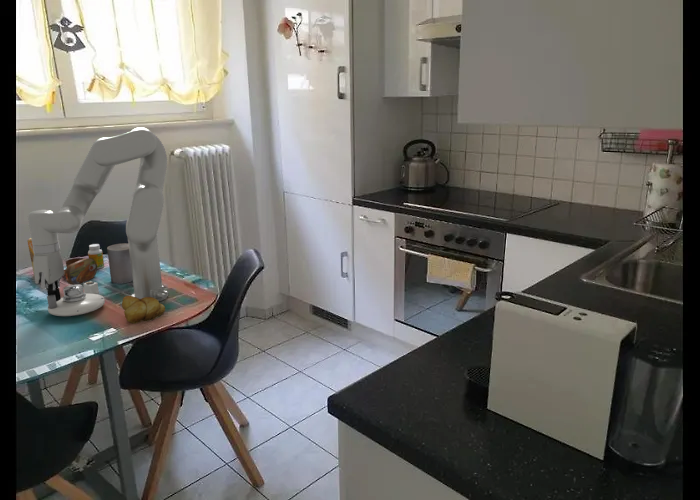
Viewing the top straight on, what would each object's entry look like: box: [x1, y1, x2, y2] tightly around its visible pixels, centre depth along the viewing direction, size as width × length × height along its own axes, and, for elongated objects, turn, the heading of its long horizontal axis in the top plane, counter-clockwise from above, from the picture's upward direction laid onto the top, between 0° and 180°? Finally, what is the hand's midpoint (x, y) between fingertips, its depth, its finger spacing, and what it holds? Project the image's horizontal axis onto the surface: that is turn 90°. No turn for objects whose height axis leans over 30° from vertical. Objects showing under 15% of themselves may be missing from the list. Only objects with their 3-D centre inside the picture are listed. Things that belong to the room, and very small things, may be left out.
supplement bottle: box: [87, 243, 105, 270], centre depth 214 cm, size 5×5×10 cm
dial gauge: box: [82, 280, 100, 295], centre depth 186 cm, size 4×3×4 cm
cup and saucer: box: [62, 257, 85, 278], centre depth 205 cm, size 12×12×6 cm
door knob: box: [62, 284, 86, 303], centre depth 174 cm, size 7×7×4 cm
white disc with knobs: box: [46, 293, 106, 317], centre depth 171 cm, size 17×17×6 cm
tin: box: [64, 257, 98, 285], centre depth 198 cm, size 15×3×8 cm, turn 168°
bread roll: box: [121, 295, 166, 324], centre depth 165 cm, size 13×10×8 cm
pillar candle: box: [106, 242, 133, 285], centre depth 199 cm, size 10×10×15 cm
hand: (54, 300), depth 170 cm, fingers closed
